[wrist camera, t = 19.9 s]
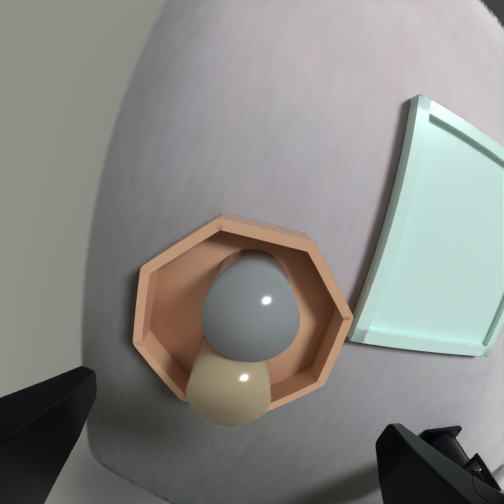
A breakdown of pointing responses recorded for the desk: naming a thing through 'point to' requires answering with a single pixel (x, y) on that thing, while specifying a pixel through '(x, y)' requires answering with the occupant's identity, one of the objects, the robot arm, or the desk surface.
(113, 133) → the desk surface
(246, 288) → the grey rounded lump
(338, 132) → the desk surface
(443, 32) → the desk surface
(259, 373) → the river pebble
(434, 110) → the parts tray
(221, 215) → the dish
